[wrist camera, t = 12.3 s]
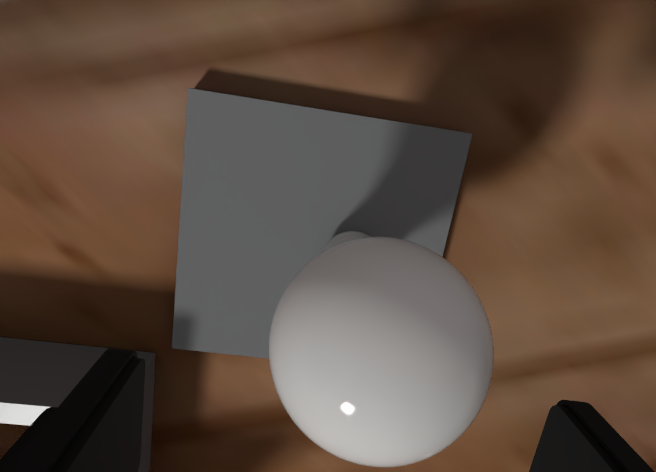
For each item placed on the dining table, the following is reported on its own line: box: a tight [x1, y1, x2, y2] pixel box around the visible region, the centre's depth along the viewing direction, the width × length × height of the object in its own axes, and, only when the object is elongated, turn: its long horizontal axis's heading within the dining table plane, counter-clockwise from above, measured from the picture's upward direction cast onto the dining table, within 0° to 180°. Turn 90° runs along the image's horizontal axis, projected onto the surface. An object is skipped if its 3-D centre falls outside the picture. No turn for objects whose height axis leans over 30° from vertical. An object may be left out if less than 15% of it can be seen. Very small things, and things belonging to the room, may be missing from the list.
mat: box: [172, 88, 472, 358], centre depth 21 cm, size 12×12×1 cm
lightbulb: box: [269, 231, 494, 467], centre depth 15 cm, size 6×6×11 cm
